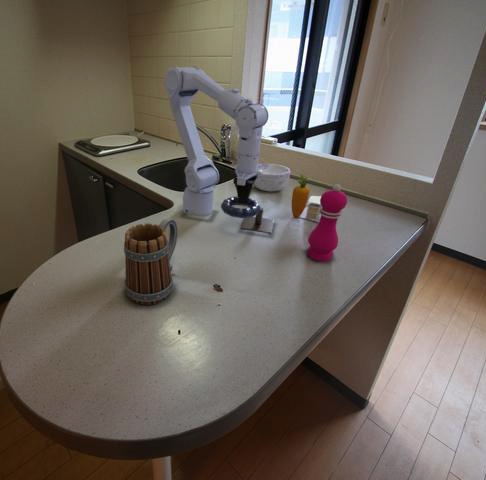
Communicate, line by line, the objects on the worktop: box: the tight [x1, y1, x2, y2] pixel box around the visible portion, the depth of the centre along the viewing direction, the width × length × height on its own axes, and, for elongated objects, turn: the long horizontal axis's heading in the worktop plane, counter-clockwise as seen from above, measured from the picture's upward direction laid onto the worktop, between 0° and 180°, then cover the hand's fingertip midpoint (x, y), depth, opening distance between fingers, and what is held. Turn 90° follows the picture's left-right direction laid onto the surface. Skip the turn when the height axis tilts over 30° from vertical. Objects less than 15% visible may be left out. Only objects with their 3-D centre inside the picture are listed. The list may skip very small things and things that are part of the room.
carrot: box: [291, 173, 311, 220], centre depth 99 cm, size 5×5×15 cm
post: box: [240, 206, 275, 234], centre depth 96 cm, size 9×9×6 cm
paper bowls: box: [253, 163, 291, 192], centre depth 125 cm, size 15×15×8 cm
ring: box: [220, 196, 261, 219], centre depth 88 cm, size 11×11×2 cm
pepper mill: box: [306, 183, 348, 263], centre depth 80 cm, size 7×7×20 cm
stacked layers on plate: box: [299, 195, 322, 223], centre depth 105 cm, size 10×9×6 cm
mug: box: [123, 217, 179, 306], centre depth 69 cm, size 16×11×15 cm
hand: (243, 200), depth 91 cm, fingers closed on ring, 2 cm apart
